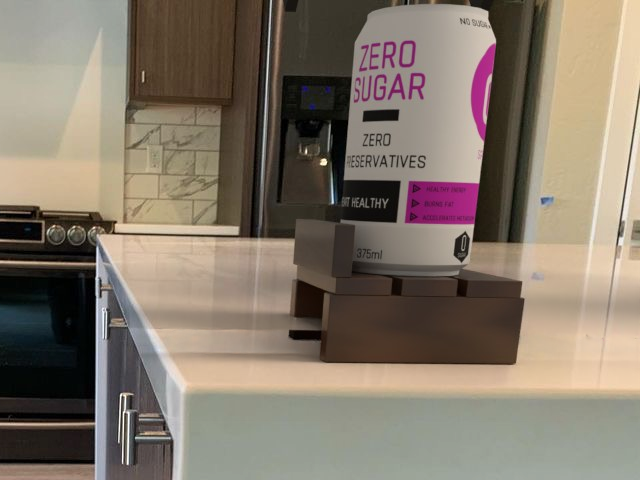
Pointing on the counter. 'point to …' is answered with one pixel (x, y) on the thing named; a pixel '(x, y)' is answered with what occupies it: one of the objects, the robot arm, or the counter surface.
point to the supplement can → (417, 138)
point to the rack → (399, 307)
